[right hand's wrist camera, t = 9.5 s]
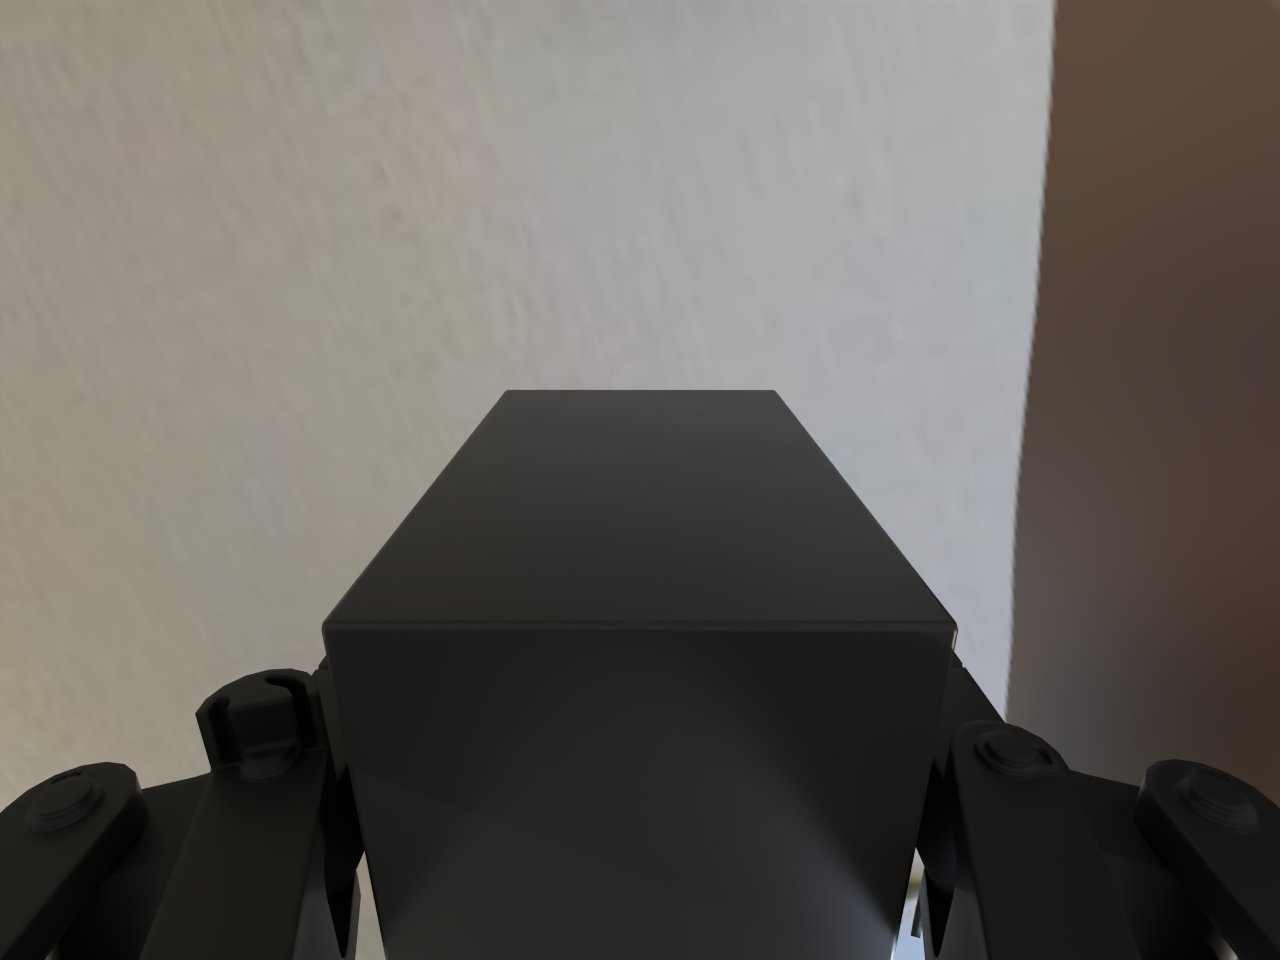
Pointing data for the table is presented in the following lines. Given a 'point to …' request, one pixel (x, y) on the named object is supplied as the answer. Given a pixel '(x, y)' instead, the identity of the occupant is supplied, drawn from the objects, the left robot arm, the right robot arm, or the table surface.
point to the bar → (639, 692)
